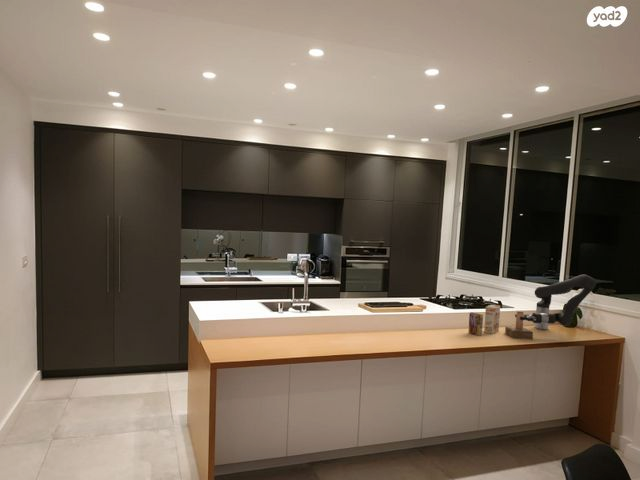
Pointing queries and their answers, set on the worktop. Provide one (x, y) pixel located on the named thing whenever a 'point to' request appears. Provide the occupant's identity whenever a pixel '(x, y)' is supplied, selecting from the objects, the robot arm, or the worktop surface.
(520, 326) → the terracotta canister
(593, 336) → the worktop surface
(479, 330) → the candy box
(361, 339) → the worktop surface
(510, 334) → the walnut base
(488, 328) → the coffeecake box
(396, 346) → the worktop surface
